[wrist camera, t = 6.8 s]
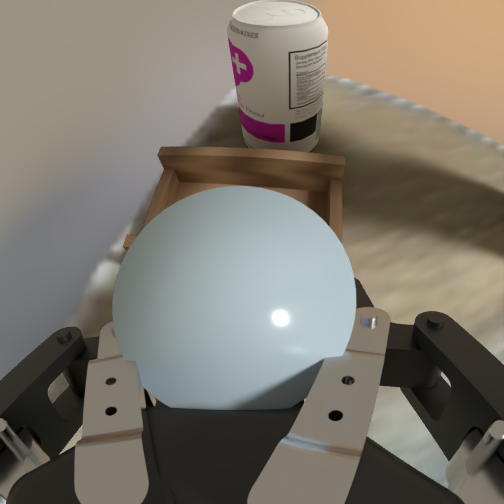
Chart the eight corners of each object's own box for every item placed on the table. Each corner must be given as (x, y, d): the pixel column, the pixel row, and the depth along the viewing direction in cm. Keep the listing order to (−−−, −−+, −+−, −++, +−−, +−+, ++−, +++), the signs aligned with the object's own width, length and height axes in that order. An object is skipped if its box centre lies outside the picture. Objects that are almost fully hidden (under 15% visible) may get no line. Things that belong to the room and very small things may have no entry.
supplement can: (246, 168, 31) (225, 34, 17) (241, 117, 34) (224, 2, 21) (326, 161, 30) (342, 29, 17) (310, 111, 34) (314, -3, 20)
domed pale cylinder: (318, 302, 16) (356, 195, 7) (307, 406, 14) (342, 437, 5) (217, 291, 17) (147, 182, 8) (199, 391, 15) (91, 387, 6)
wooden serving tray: (336, 192, 29) (345, 156, 24) (333, 294, 25) (345, 270, 20) (176, 181, 31) (160, 146, 26) (148, 272, 27) (122, 246, 22)
